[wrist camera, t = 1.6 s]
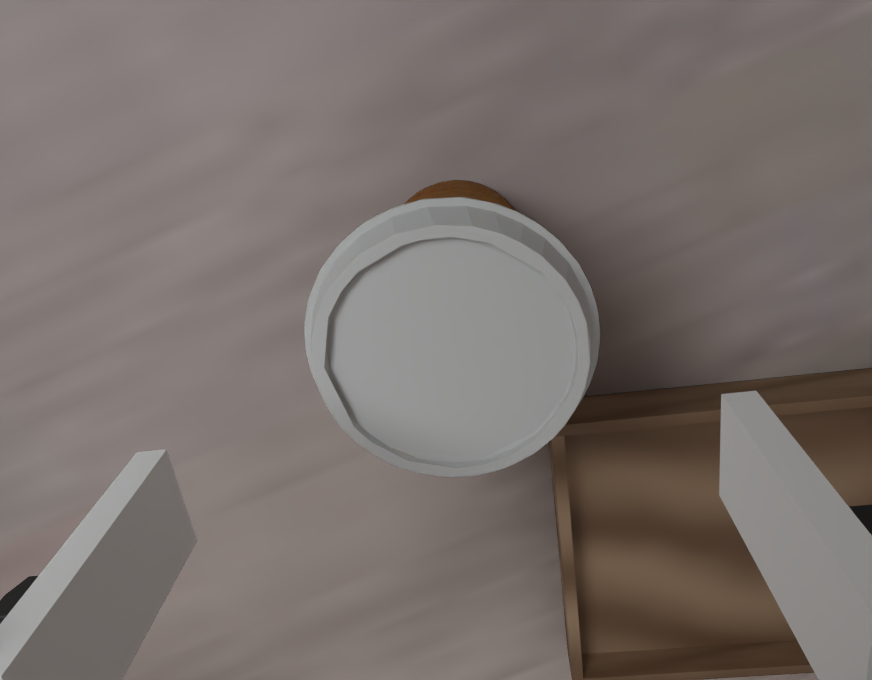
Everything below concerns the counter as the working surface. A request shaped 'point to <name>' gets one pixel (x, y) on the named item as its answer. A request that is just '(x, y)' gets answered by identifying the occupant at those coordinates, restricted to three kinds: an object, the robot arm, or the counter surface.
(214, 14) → the counter surface
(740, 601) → the box
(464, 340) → the disposable coffee cup
